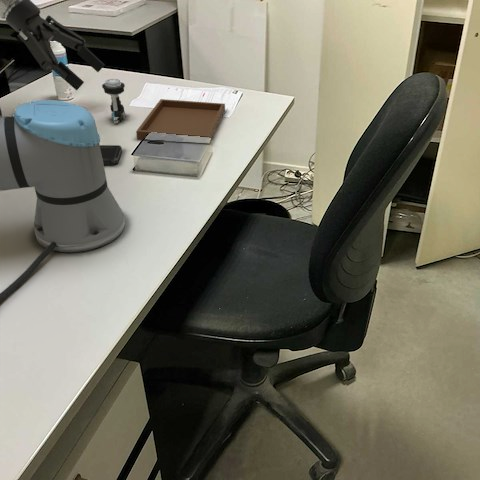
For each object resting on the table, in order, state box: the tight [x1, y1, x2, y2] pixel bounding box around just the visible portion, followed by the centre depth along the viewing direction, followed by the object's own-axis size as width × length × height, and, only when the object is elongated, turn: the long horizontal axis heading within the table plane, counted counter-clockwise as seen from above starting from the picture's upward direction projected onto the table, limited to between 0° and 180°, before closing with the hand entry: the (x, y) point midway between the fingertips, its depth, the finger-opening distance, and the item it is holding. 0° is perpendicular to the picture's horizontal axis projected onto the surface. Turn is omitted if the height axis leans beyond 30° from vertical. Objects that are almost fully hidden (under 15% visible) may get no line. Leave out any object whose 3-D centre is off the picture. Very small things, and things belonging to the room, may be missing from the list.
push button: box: [101, 78, 126, 124], centre depth 140 cm, size 7×5×10 cm
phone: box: [100, 144, 123, 166], centre depth 124 cm, size 8×1×15 cm
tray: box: [136, 98, 226, 141], centre depth 142 cm, size 22×18×2 cm
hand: (91, 77), depth 136 cm, fingers open, 13 cm apart
